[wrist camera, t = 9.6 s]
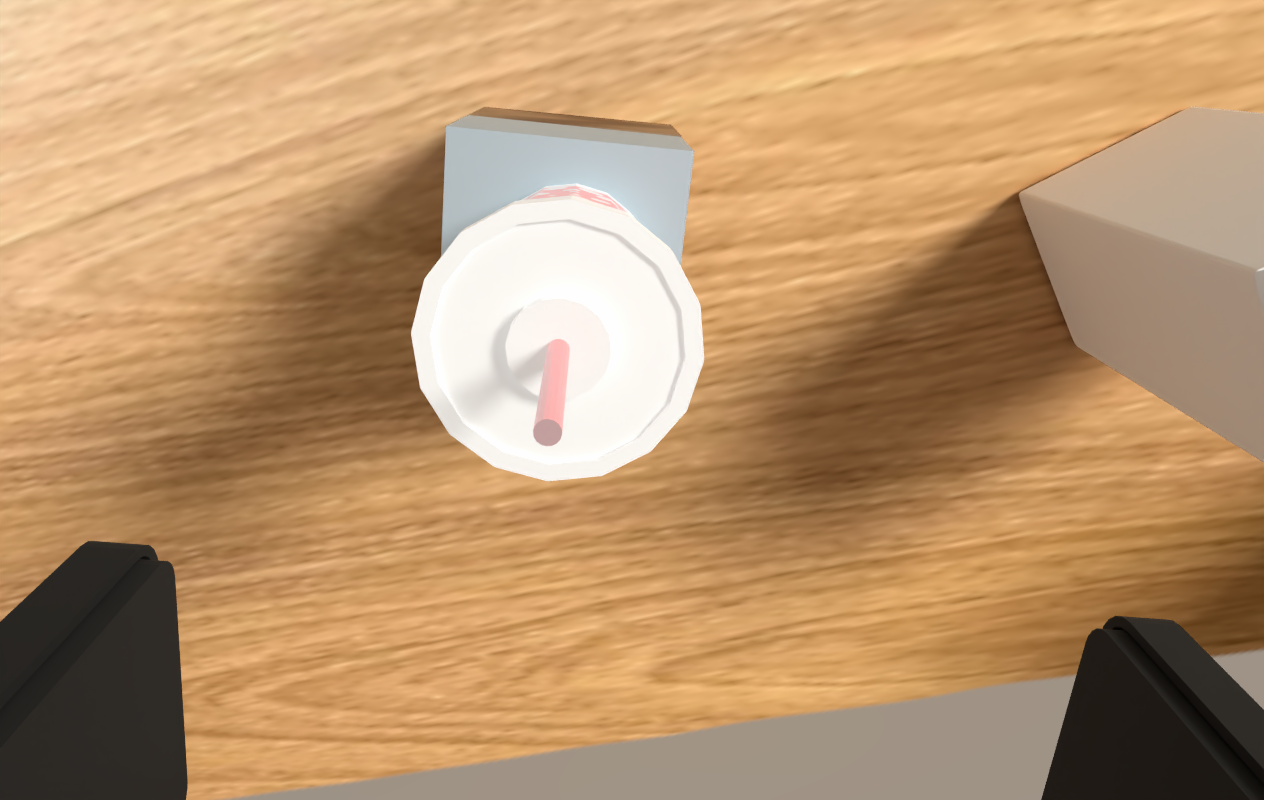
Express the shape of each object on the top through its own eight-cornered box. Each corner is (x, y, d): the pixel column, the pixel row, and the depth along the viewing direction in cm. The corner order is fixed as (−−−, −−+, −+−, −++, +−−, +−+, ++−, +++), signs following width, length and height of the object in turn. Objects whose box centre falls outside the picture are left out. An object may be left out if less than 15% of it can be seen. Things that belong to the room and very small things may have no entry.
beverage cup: (661, 371, 31) (711, 612, 17) (459, 353, 30) (352, 586, 17) (685, 167, 29) (762, 263, 15) (470, 144, 28) (358, 224, 15)
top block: (680, 136, 33) (694, 151, 28) (657, 339, 35) (666, 384, 31) (468, 114, 33) (446, 125, 28) (458, 321, 35) (436, 364, 30)
